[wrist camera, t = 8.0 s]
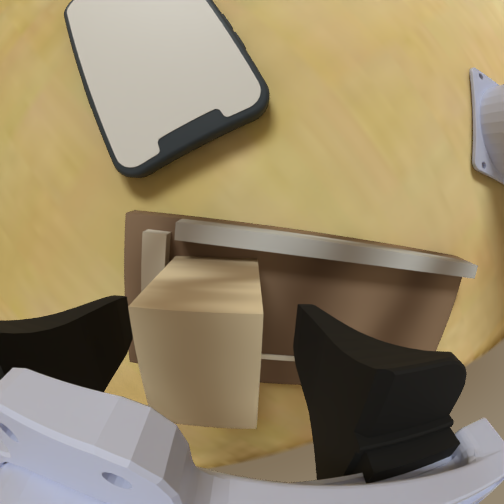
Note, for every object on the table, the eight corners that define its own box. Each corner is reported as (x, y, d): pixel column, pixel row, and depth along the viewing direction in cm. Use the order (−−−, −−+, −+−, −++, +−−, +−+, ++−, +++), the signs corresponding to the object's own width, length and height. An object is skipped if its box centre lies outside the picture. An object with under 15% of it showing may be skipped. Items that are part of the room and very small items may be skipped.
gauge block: (257, 258, 14) (263, 314, 8) (254, 346, 15) (256, 428, 9) (175, 255, 13) (128, 306, 8) (181, 343, 15) (152, 419, 9)
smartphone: (69, 15, 11) (132, 187, 14) (59, 7, 9) (119, 188, 13) (174, -43, 10) (278, 112, 13) (170, -55, 9) (281, 103, 12)
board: (455, 255, 15) (477, 265, 13) (415, 370, 17) (429, 388, 15) (134, 210, 14) (115, 215, 12) (136, 351, 16) (123, 372, 14)
